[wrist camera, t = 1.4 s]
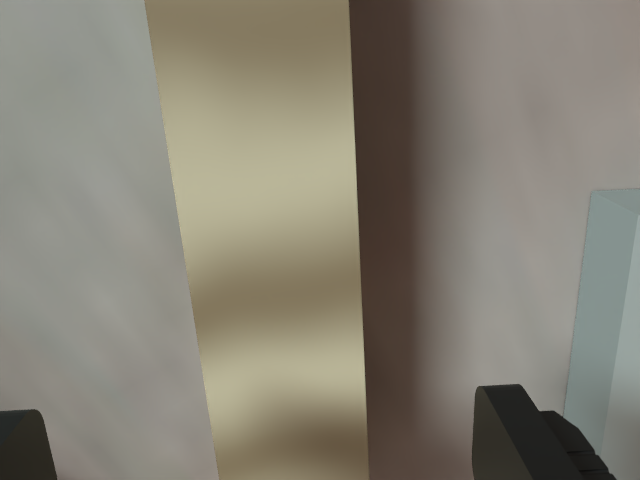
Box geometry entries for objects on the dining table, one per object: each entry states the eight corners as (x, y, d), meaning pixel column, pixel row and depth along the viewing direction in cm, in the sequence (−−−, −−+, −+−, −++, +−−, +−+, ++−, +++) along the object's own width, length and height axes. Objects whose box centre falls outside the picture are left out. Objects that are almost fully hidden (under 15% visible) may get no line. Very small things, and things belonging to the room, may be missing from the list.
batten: (170, -102, 17) (120, -156, 13) (330, -113, 17) (341, -171, 13) (246, 468, 25) (233, 568, 20) (359, 460, 25) (372, 558, 20)
